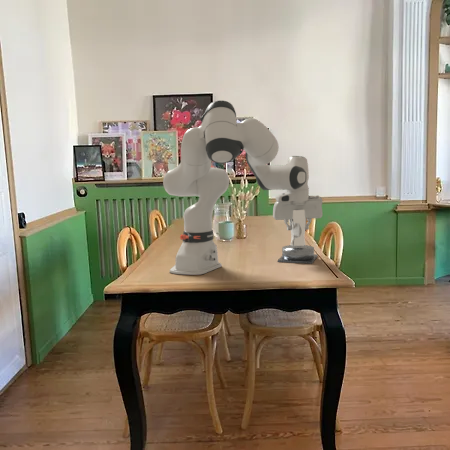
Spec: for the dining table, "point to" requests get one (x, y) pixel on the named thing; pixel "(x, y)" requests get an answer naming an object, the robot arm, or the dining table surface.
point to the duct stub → (298, 254)
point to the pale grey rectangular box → (298, 227)
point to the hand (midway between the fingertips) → (297, 229)
